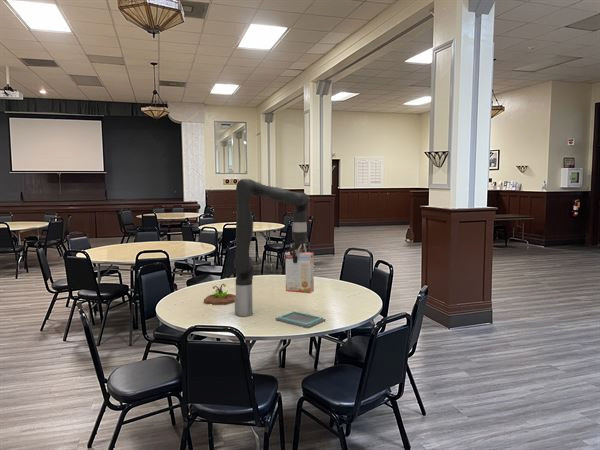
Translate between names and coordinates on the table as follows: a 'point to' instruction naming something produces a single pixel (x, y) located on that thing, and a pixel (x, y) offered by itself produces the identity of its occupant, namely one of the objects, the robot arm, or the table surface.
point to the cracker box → (300, 273)
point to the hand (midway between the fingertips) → (299, 261)
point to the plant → (220, 297)
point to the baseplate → (300, 319)
